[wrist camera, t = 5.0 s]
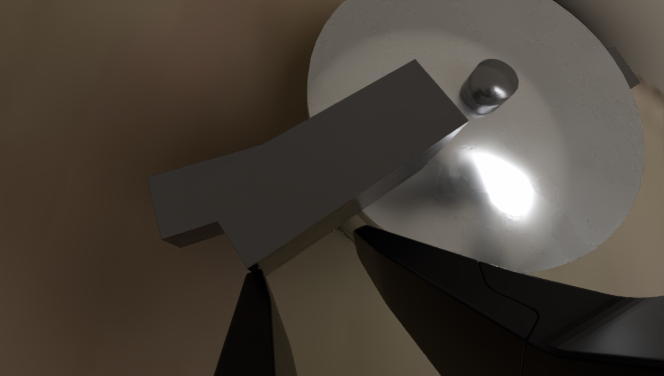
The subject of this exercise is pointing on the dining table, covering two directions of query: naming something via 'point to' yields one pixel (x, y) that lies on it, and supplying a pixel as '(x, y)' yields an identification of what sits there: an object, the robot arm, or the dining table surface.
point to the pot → (195, 215)
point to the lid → (445, 138)
